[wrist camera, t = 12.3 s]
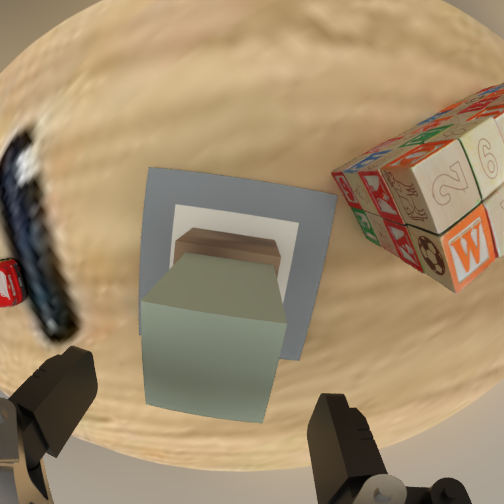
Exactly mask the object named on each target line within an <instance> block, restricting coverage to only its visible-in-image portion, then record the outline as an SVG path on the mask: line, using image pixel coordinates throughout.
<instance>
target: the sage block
mask: <svg viewBox="0 0 504 504" xmlns="http://www.w3.org/2000/svg"><path fill="white" fill-rule="evenodd" d="M286 327H287V321H286V316H285V312H284V307H283V303H282V299H281V294H280V290H279V286H278V281H277V277H276V273H275V269H274V265H269V264H262V263H255V262H248V261H241V260H234V259H228V258H221V257H214V256H207V255H200V254H194V253H187V252H185V253H184V254H183V256H182V257H181V258H180V259H179V260H178V261H177V262H176V263H175V264H174V265H173V266H172V267H171V268H170V269H169V270H168V272H167V273H166V274H165V275H164V276H163V277H162V278H161V279H160V280H159V281H158V282H157V284H156V285H155V286H154V287H153V288H152V289H151V290H150V291H149V292H148V293H147V295H146V296H145V297H144V298H143V299H142V300H141V339H142V361H143V376H144V389H145V399H146V404H148V405H152V406H156V407H160V408H165V409H169V410H174V411H179V412H184V413H189V414H194V415H200V416H206V417H212V418H219V419H226V420H234V421H243V422H253V423H263V419H264V416H265V412H266V408H267V405H268V401H269V397H270V393H271V389H272V385H273V381H274V377H275V373H276V369H277V365H278V361H279V357H280V353H281V349H282V344H283V340H284V336H285V331H286Z"/></svg>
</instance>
